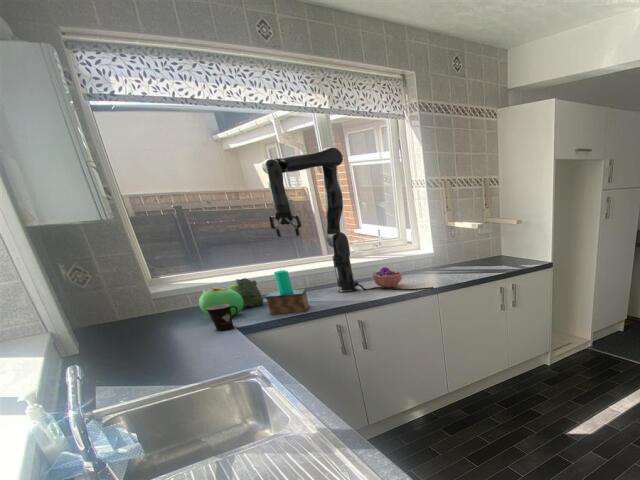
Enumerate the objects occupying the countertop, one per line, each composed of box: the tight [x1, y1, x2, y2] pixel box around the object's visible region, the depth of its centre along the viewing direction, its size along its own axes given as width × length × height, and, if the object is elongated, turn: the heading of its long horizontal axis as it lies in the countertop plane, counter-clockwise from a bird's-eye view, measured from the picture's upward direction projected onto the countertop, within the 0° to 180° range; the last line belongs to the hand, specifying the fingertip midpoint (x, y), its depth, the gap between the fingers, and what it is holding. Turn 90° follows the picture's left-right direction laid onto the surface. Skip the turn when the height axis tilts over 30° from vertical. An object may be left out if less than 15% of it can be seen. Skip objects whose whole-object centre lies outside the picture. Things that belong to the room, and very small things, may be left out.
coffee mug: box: [206, 304, 238, 332], centre depth 187 cm, size 12×9×10 cm
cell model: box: [371, 267, 403, 288], centre depth 254 cm, size 17×20×11 cm
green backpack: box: [234, 277, 264, 310], centre depth 218 cm, size 11×19×15 cm, turn 115°
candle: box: [273, 269, 294, 294], centre depth 207 cm, size 6×6×12 cm
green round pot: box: [198, 283, 244, 317], centre depth 203 cm, size 18×17×15 cm
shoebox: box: [265, 288, 310, 315], centre depth 212 cm, size 17×11×9 cm, turn 104°
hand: (289, 236), depth 221 cm, fingers open, 8 cm apart
